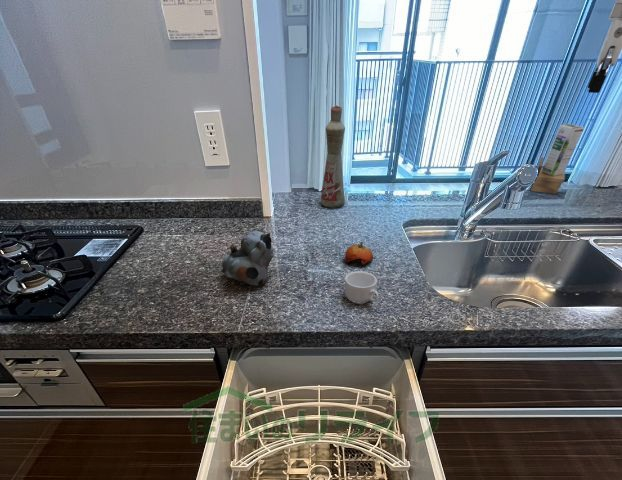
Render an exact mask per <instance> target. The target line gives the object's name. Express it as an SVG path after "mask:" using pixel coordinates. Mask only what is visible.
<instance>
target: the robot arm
mask: <svg viewBox="0 0 622 480" xmlns="http://www.w3.org/2000/svg"><path fill="white" fill-rule="evenodd" d="M608 21H611V23H610V25H609V28H608V30H607V33H606V35H605V37H604V41H603V43H602V45H601V48H600V51H599V54H598V57H597V60H596V67H595V69H594V71H593V72H592V75H591V77H590V80H589V82H588V84H587V88H588V90H587V92H588V93H589V94H590V93H592V94H593V93H594V94H599V93H601V90H602V87H603V85H604V82H605V80H606V79H607V74H608V72H609V69H610V67H612V68H614V67H615V66H616V64H617V61H618V59H619V58H620V57H619V56H620V55H621V52H622V0H615V3H614V5H613V7H612V10H611V12H610V13H609V17H608Z"/></svg>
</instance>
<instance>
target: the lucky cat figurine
mask: <svg viewBox="0 0 622 480" xmlns="http://www.w3.org/2000/svg"><path fill="white" fill-rule="evenodd" d="M229 250H230V253H229V255H226V256H225V257H224V259H223V260H222V267H221V268H222V269H220V272H221V273H223V276H224V277H226V278H229V279H231V280H235V281H240V282H243V283H245V284H247V285H250V286H256V287H259V286H260V287H263V286H264V285H265V284H266V283H267V279H268V274H269V273H268V269H269V265H270V263H271V261H272V260H273V258H274V255H275V254H274V244H273V243H272V238H271V232H267V233H266V231H265V230H262V231H258V230H255V231H249V232H248V233H247V234H245V235H244V236H243V237H241V239H240V248H239V249H238V247H237V245H236V244H233V243H231V245H230V246H229Z"/></svg>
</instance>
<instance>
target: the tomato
mask: <svg viewBox="0 0 622 480" xmlns="http://www.w3.org/2000/svg"><path fill="white" fill-rule="evenodd" d="M344 254H345V255H344V260H345V263H346V264H348V266H349V262H353V261H357V260H358V259H361V260H360V261H361V263H362V265H365V264H366V263H367V264H368V262H371V261H373V260H374V254H373V251H372V250H371V249H370V248H368V247H366V246H364V242H363V241H361V242H359V243H358V244H352V245H351V246H349V247H348V248H347V249H346V251H345V253H344Z"/></svg>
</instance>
